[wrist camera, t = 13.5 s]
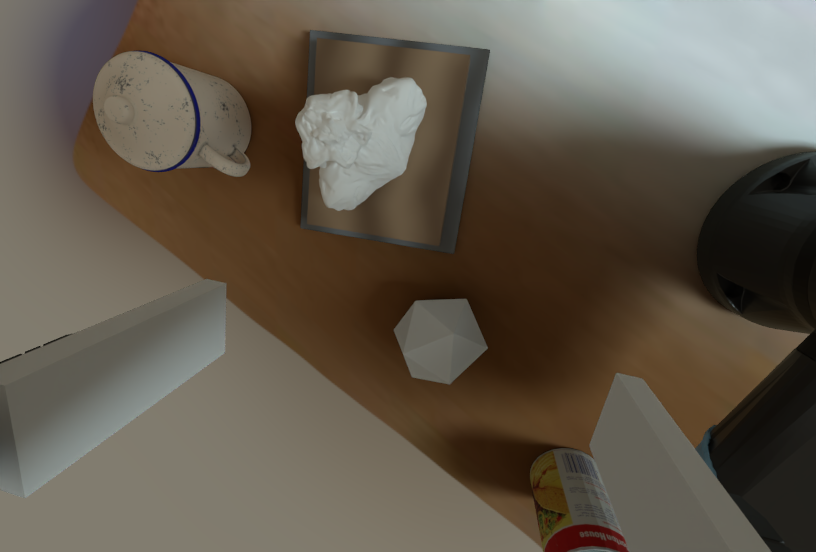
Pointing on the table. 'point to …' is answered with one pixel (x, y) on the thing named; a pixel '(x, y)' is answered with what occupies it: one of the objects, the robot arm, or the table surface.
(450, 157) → the pedestal
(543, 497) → the canned food
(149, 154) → the teacup with lid
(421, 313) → the die
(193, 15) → the table surface
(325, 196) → the bust
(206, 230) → the table surface
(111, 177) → the table surface
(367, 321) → the table surface
